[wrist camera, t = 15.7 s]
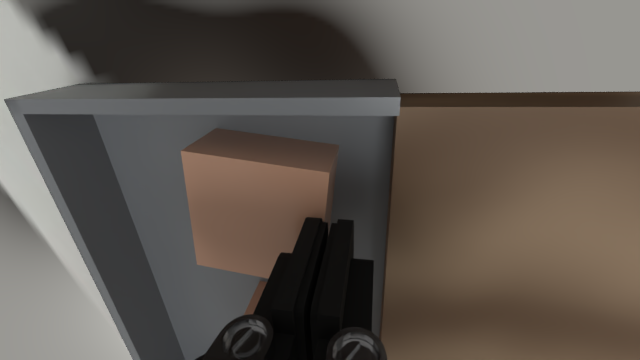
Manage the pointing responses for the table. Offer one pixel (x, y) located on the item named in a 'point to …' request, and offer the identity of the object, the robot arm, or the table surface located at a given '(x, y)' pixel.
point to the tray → (171, 196)
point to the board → (513, 227)
